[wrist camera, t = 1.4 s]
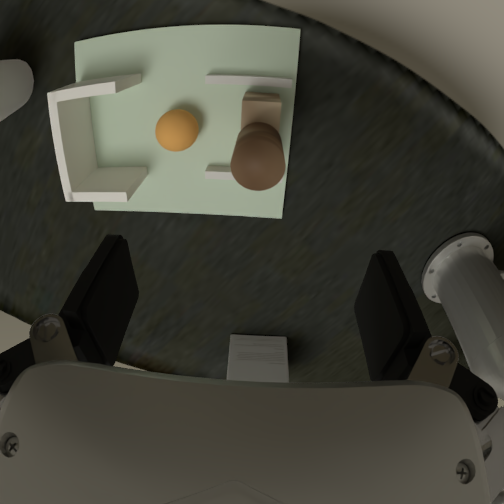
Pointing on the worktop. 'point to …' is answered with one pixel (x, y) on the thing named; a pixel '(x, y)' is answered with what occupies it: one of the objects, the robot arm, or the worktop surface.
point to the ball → (176, 130)
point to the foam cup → (14, 85)
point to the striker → (259, 143)
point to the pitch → (161, 101)
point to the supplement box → (258, 358)
